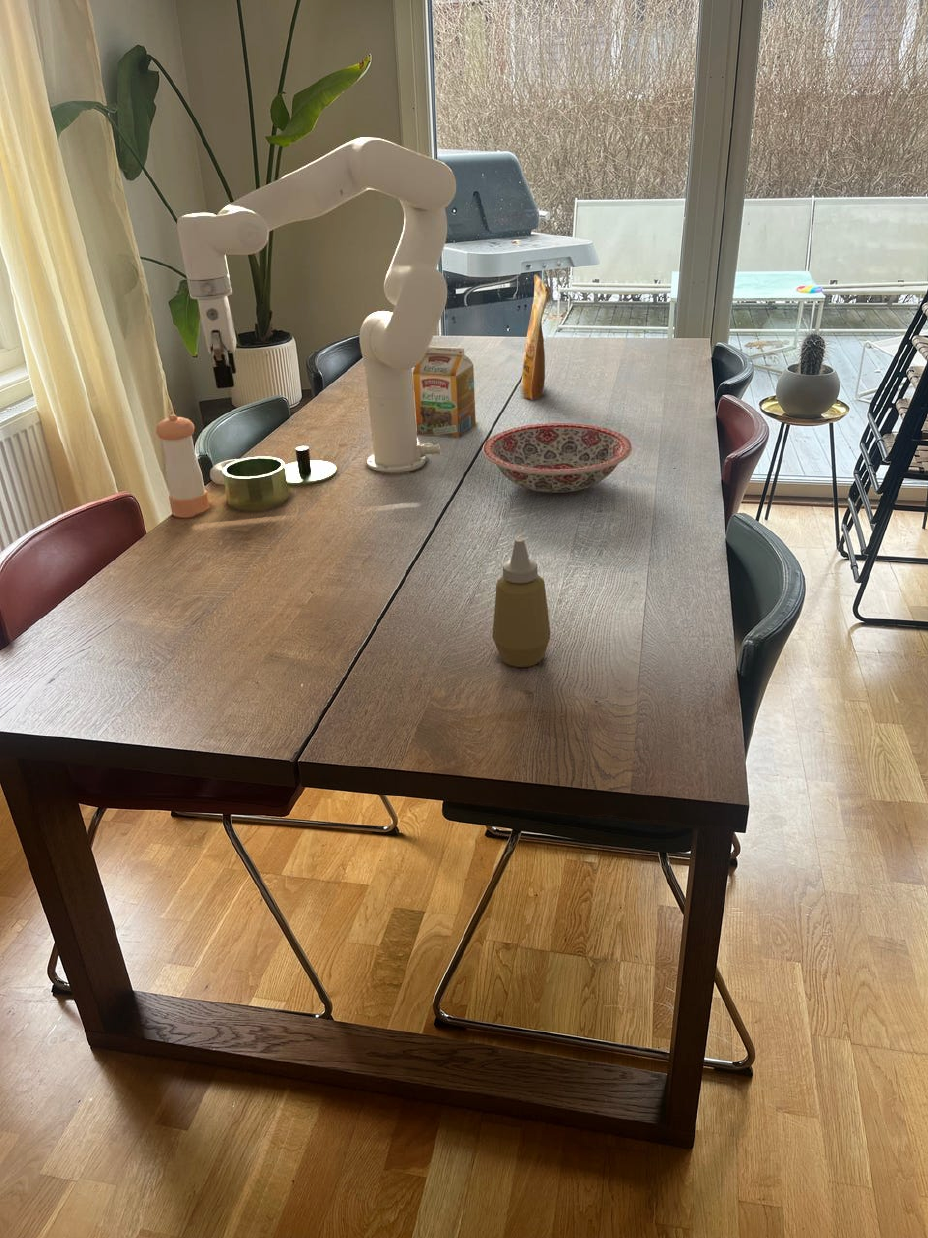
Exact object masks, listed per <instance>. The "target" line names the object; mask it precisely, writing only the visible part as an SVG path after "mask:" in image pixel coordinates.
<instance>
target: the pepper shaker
mask: <svg viewBox="0 0 928 1238" xmlns="http://www.w3.org/2000/svg"><path fill="white" fill-rule="evenodd" d="M155 433H156V435H157V437H158V438H159V439H160V440H161V441H162V446H163V451H164V456H165V461H166V463H165V464H166V483H167V486H168V490H169V495H168V501H169V505H170V510H171V514H172V515H173V516H174V517H176V518H181V519H182V518H185V519H186V518H194V517H195V515H197V514H201V513H203V512H205V511H207V510H208V509H209V508H210V500H209V495H208V491H207V489H205V484H204V477H203V473H202V472H203V471H202V469H201V466H200V463H199V461H198V459H197V455H196V451H195V446H194V439H193V434H194V433H195V424H194V423H193V421H191V420H190V419H189V418H187V417H183V416H177V414H170V415H168V417H167V418H164V419H163V420H161V421H159V422H158V423H157V425H156V429H155ZM174 513H175V514H174Z"/></svg>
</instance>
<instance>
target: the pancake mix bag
mask: <svg viewBox="0 0 928 1238" xmlns="http://www.w3.org/2000/svg"><path fill="white" fill-rule="evenodd" d="M533 281H534V282H533V283H534V285H533V302H532V307H531V311H530V312H531V313H530V318H529V323H528V328H527V334H526V340H525V347H524V354H523V361H522V362H523V363H522V369H521V371H522V372H521V382H522V393H523V398H524V399H529V400H531V401H533V400H537V399H541V398H542V396H543V394H544V393H543V392H544V386H545V380H546V352H545V343H544V333H543V327H542V319H543V317H544V313H545V310H546V307H547V304H548V301H549V298H550V289H549V287H548V286H547V285H546V283H545V282H544V281H543V279H542V278H541V277H540V276H539V275H538V274H537V273H536V274H534V275H533Z"/></svg>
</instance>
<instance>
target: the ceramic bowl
mask: <svg viewBox="0 0 928 1238" xmlns="http://www.w3.org/2000/svg"><path fill="white" fill-rule="evenodd" d="M632 451H633V444H632V442H631V440H630V439H629V438H628V437H626V436H625V435H623V434H621V433H620V432H618V431H615V430H612V429H610V428H605V427H602V426H596V425H591V424H585V423H572V422H571V423H570V422H553V423H552V422H550V423H538V424H537V423H536V424H530V425H522V426H518V427H513V428H511V429H507V430H504V431H501V432H499V433H497V434H495V435H492V436H491V437H490V438H488V439H487V440H486V441H485V442H484V444H483V446H482V454H483V457H484V458H485V459H486V460H487V461H488V462H490V463H491V464H494V465H495V466H496V468H497V469H498V470H499V472H500V473H501V474H502V475H503V476H504V477H506V479H508V480H509V481H510V482H512V483H514V484H515V485H518V486H520V487H521V488H525V489H527V490H531V491H534V492H535V491H536V492H541V493H557V494H560V493H571V492H578V491H581V490H584V489H588V488H591V487H593V486H595V485H597V484H599V483H600V482H602V481H603V480H605V479H606V478H607V477H609V476H610V475H611V474H612V473H613V471H615V469H616V468H617V466H618V465H619V464H620V463H622V462H624V461H625V460H627V459H628V458H629V457H630V456H631V454H632Z"/></svg>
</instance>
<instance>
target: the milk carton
mask: <svg viewBox="0 0 928 1238" xmlns="http://www.w3.org/2000/svg"><path fill="white" fill-rule="evenodd" d="M474 369H475V368H474V363H473V361H472V360H471V359H470V358H469V357H468V356H467V355H466V354H465V349H464V348H463V347H450V346H449V347H448V346H430V345H429V347H428V350H427V352H426V354H425V356H424V357H423V359H422V360H421V361H420V363H419V364H417V365H416V366H415V367H413V370H412V371H413V372H412V376H413V386H414V404H415V418H416V432H417V435H425V436H426V435H427V436H436V437H437V436H438V437H450V438H460V437H461V436H463V435H464V434H465V433H466V432H468V431H469V430H470V429H472V427H474V426H475V425H476V424H477V422H476V397H475V395H476V394H475V372H474Z"/></svg>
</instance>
